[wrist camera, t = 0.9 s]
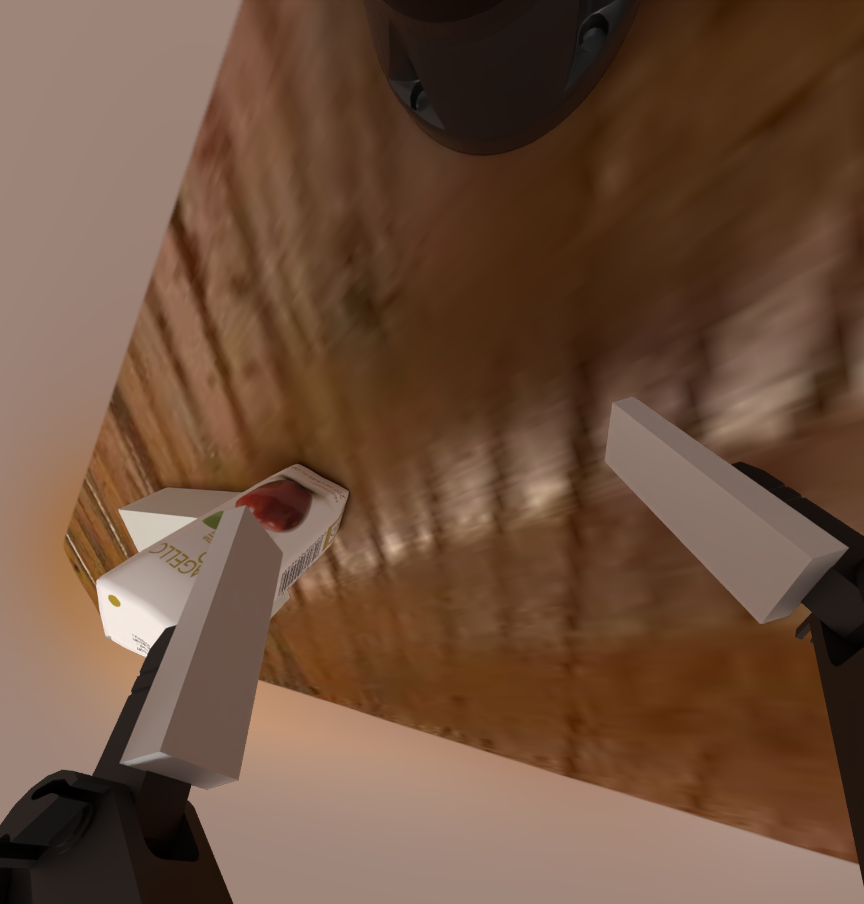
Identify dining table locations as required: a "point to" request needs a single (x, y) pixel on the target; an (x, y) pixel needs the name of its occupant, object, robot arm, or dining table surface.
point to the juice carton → (182, 553)
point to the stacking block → (174, 516)
